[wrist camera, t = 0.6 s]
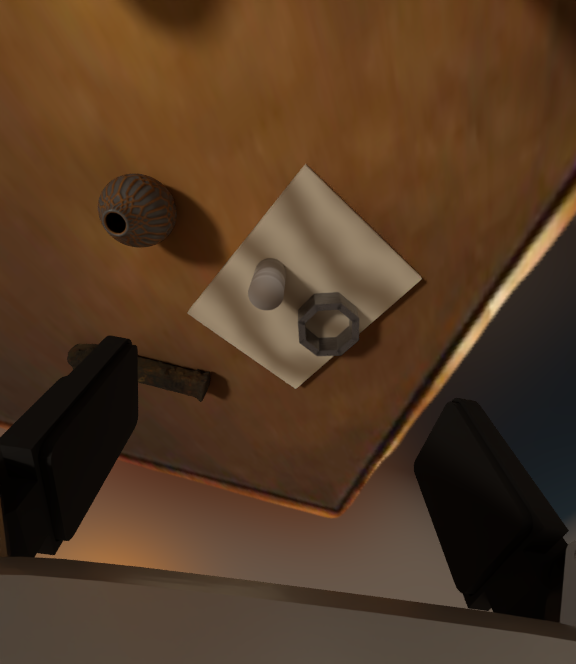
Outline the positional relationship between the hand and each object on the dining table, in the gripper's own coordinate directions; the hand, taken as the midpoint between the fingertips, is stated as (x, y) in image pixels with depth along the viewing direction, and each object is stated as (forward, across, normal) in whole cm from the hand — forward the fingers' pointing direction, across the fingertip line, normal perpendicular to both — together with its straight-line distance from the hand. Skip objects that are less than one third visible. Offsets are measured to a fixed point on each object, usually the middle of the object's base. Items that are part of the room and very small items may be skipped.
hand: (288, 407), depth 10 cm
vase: (+32, +16, +2) cm, 35 cm away
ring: (+30, -6, +11) cm, 33 cm away
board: (+32, -3, +9) cm, 33 cm away
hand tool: (+33, +16, +24) cm, 44 cm away
